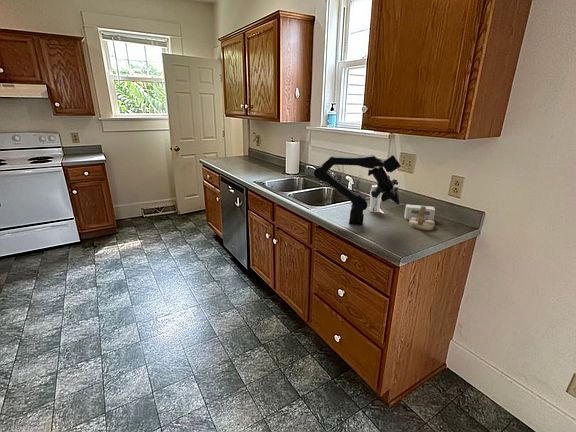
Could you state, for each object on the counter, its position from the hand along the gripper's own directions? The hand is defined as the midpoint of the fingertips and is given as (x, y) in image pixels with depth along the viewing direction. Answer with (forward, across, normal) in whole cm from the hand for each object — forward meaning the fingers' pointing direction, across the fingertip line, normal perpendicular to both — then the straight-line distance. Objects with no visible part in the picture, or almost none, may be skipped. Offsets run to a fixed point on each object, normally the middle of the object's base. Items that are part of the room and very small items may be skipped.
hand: (398, 203), depth 155 cm
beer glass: (+4, -18, -20) cm, 27 cm away
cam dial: (+18, -5, +2) cm, 18 cm away
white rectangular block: (+18, -15, 0) cm, 23 cm away
